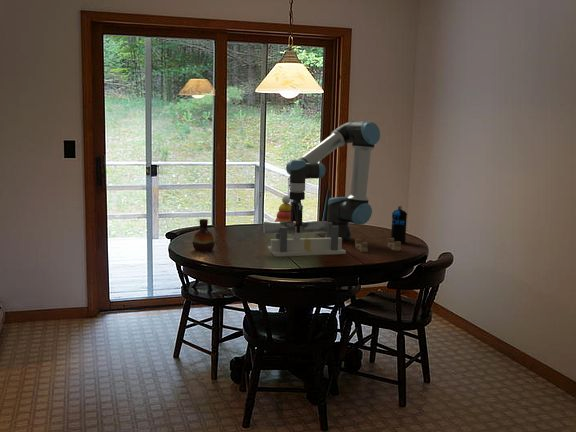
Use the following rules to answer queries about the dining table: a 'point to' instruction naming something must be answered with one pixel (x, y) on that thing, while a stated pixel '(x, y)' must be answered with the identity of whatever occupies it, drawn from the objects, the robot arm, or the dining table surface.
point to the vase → (203, 238)
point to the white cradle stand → (307, 244)
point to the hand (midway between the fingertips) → (295, 237)
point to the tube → (305, 228)
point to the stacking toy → (284, 211)
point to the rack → (390, 244)
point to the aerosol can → (399, 225)
